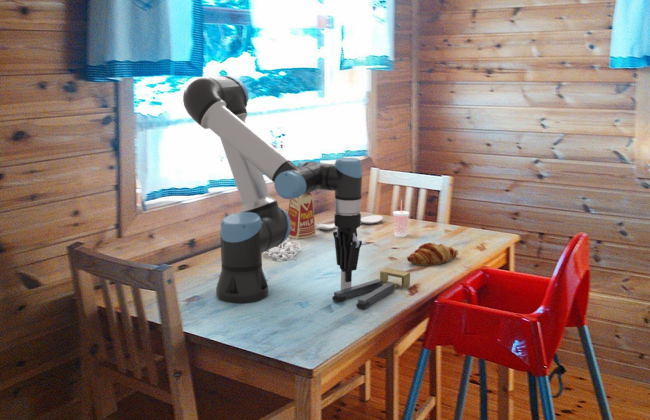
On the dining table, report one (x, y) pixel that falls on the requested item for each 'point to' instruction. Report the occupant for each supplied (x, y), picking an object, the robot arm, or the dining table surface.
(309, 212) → the milk carton
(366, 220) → the white long curved piece
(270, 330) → the dining table surface
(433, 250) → the croissant
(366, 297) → the tongs fixed arm
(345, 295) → the tongs arm
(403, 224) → the beverage cup
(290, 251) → the tangled rod sculpture
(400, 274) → the tan block
